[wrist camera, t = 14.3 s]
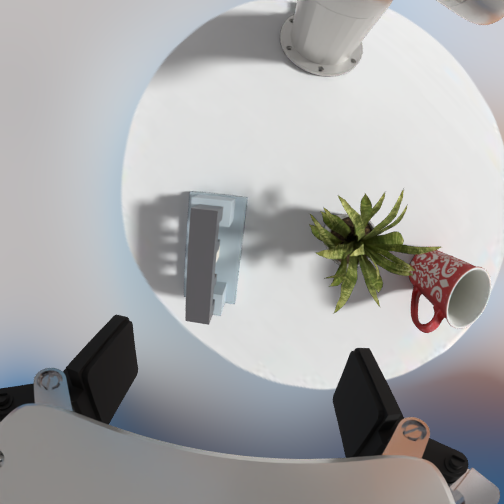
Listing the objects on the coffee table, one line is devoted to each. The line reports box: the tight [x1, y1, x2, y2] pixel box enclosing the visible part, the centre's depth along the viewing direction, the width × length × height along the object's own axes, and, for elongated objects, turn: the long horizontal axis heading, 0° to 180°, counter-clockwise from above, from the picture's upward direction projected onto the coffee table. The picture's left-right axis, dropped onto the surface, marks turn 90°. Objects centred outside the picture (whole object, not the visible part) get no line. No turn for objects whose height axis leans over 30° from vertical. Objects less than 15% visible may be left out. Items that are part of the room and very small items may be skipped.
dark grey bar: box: [186, 204, 223, 325], centre depth 33 cm, size 14×3×4 cm, turn 173°
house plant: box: [309, 189, 441, 313], centre depth 31 cm, size 14×14×16 cm
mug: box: [409, 250, 491, 333], centre depth 34 cm, size 13×9×14 cm
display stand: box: [184, 191, 248, 316], centre depth 38 cm, size 16×8×7 cm, turn 173°
